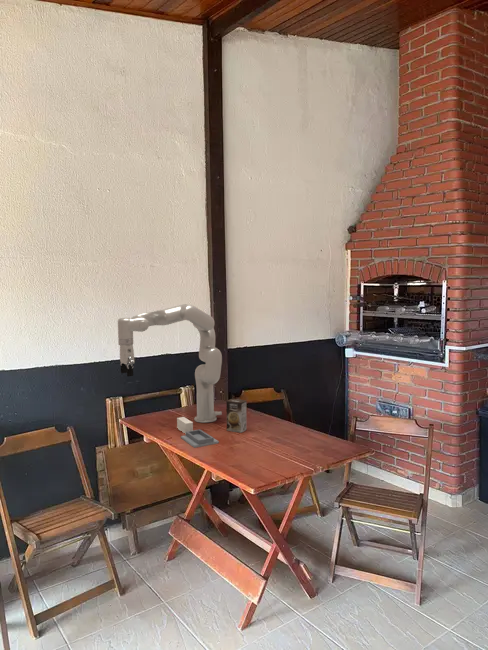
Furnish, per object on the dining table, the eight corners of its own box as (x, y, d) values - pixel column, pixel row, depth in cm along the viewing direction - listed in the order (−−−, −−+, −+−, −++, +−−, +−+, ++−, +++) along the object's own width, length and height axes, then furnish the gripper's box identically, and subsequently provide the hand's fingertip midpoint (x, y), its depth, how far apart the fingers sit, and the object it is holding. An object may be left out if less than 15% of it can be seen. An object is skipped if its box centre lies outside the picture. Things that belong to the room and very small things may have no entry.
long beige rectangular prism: (184, 427, 285) (183, 416, 285) (193, 433, 275) (192, 422, 274) (177, 428, 284) (177, 417, 283) (185, 434, 273) (185, 423, 272)
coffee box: (226, 430, 279) (225, 400, 277) (232, 427, 285) (231, 398, 283) (241, 433, 275) (241, 402, 273) (247, 429, 280) (246, 399, 279)
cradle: (204, 433, 274) (204, 428, 273) (218, 443, 259) (218, 437, 259) (180, 438, 267) (180, 432, 267) (194, 447, 253) (194, 441, 252)
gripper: (138, 343, 267) (139, 376, 269) (127, 339, 282) (128, 371, 284) (124, 344, 263) (125, 378, 265) (113, 340, 278) (114, 372, 280)
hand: (127, 374), depth 274 cm, fingers open, 9 cm apart
